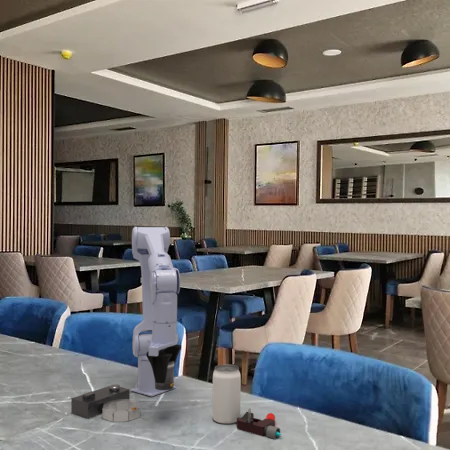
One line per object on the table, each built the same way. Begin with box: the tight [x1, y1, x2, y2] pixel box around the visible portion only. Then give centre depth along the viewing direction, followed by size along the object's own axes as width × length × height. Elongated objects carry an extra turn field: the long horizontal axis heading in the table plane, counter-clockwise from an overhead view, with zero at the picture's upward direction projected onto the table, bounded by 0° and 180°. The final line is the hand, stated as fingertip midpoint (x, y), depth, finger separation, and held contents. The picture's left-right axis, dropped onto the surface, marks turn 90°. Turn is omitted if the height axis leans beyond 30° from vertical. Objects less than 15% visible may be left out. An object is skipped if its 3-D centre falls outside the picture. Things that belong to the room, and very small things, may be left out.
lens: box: [155, 360, 175, 391], centre depth 125 cm, size 5×5×6 cm
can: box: [211, 363, 242, 425], centre depth 125 cm, size 6×6×12 cm
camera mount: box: [70, 384, 141, 423], centre depth 129 cm, size 13×15×4 cm
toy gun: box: [236, 408, 283, 440], centre depth 120 cm, size 10×12×5 cm
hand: (164, 379), depth 125 cm, fingers closed on lens, 4 cm apart
